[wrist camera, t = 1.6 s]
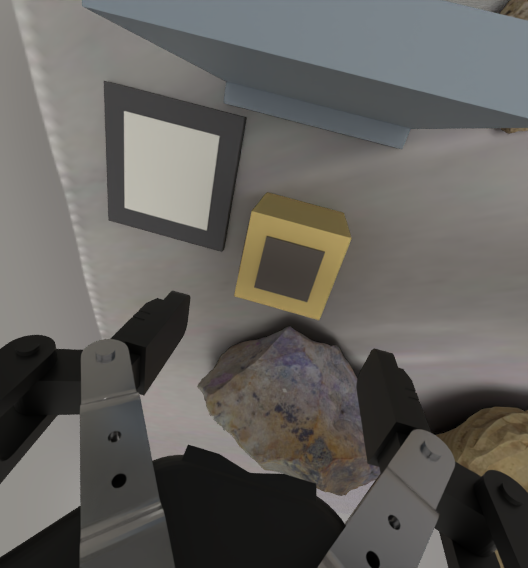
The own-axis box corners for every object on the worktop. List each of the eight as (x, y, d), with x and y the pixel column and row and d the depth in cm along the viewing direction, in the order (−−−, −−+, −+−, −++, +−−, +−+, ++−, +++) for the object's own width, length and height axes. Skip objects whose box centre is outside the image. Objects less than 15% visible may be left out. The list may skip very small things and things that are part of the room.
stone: (437, 444, 16) (385, 571, 23) (412, 330, 25) (381, 446, 31) (151, 372, 20) (180, 495, 27) (218, 299, 29) (227, 405, 36)
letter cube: (264, 191, 23) (247, 211, 17) (343, 212, 22) (352, 239, 17) (249, 261, 25) (230, 296, 20) (319, 280, 25) (319, 321, 20)
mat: (109, 81, 21) (102, 80, 20) (246, 117, 20) (244, 117, 20) (112, 218, 26) (107, 220, 25) (224, 249, 25) (221, 252, 25)
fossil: (486, 348, 26) (663, 577, 12) (620, 443, 28) (888, 722, 15) (364, 430, 33) (394, 633, 19) (479, 501, 35) (575, 725, 22)
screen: (237, 29, 18) (71, -174, 6) (428, 77, 18) (671, -37, 6) (226, 103, 20) (85, 64, 8) (399, 148, 20) (531, 179, 8)
